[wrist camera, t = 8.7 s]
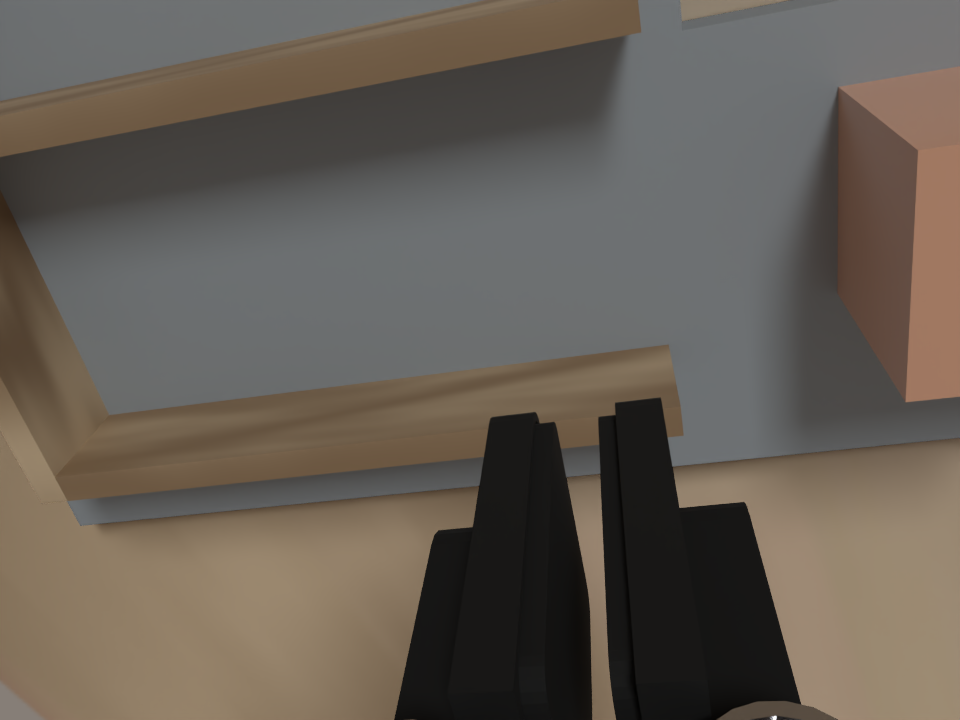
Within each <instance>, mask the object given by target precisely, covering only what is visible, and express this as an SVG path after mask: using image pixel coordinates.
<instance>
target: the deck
mask: <svg viewBox="0 0 960 720" xmlns="http://www.w3.org/2000/svg"><path fill="white" fill-rule="evenodd" d="M478 1H483V0H0V101H3V100H8V99H12V98H17V97H22V96H27V95H32V94H36V93H41V92H46V91H51V90H56V89H60V88H65V87H70V86H75V85H80V84H84V83H89V82H94V81H99V80H104V79H108V78H113V77H118V76H123V75H128V74H132V73H137V72H142V71H147V70H152V69H156V68H161V67H166V66H171V65H176V64H180V63H185V62H190V61H195V60H200V59H205V58H209V57H214V56H219V55H224V54H229V53H233V52H238V51H243V50H248V49H253V48H257V47H262V46H267V45H272V44H277V43H281V42H286V41H291V40H296V39H301V38H305V37H310V36H315V35H320V34H325V33H329V32H334V31H339V30H344V29H349V28H353V27H358V26H363V25H368V24H373V23H377V22H382V21H387V20H392V19H397V18H401V17H406V16H411V15H416V14H421V13H426V12H430V11H435V10H440V9H445V8H450V7H454V6H459V5H464V4H469V3H474V2H478ZM638 5H639V14H640V24H641V33H636V34H631V35H626V36H621V37H616V38H611V39H606V40H600V41H595V42H590V43H585V44H580V45H575V46H569V47H564V48H559V49H554V50H549V51H544V52H539V53H533V54H528V55H523V56H518V57H513V58H508V59H503V60H497V61H492V62H487V63H482V64H477V65H472V66H466V67H461V68H456V69H451V70H446V71H441V72H436V73H430V74H425V75H420V76H415V77H410V78H405V79H400V80H394V81H389V82H384V83H379V84H374V85H369V86H363V87H358V88H353V89H348V90H343V91H338V92H333V93H327V94H322V95H317V96H312V97H307V98H302V99H296V100H291V101H286V102H281V103H276V104H271V105H266V106H260V107H255V108H250V109H245V110H240V111H235V112H230V113H224V114H219V115H214V116H209V117H204V118H199V119H193V120H188V121H183V122H178V123H173V124H168V125H163V126H157V127H152V128H147V129H142V130H137V131H132V132H127V133H121V134H116V135H111V136H106V137H101V138H96V139H90V140H85V141H80V142H75V143H70V144H65V145H60V146H54V147H49V148H44V149H39V150H34V151H29V152H23V153H18V154H13V155H8V156H3V157H0V190H1V192H2V194H3V196H4V198H5V201H6V203H7V205H8V207H9V209H10V211H11V213H12V215H13V217H14V219H15V221H16V223H17V225H18V227H19V229H20V232H21V234H22V236H23V238H24V240H25V242H26V244H27V246H28V248H29V250H30V252H31V254H32V256H33V258H34V260H35V263H36V265H37V267H38V269H39V271H40V273H41V275H42V277H43V279H44V281H45V283H46V285H47V287H48V289H49V291H50V294H51V296H52V298H53V300H54V302H55V304H56V306H57V308H58V310H59V312H60V314H61V316H62V318H63V320H64V322H65V325H66V327H67V329H68V331H69V333H70V335H71V337H72V339H73V341H74V343H75V345H76V347H77V349H78V351H79V353H80V356H81V358H82V360H83V362H84V364H85V366H86V368H87V370H88V372H89V374H90V376H91V378H92V380H93V382H94V384H95V387H96V389H97V391H98V393H99V395H100V397H101V399H102V401H103V403H104V405H105V407H106V409H107V411H108V413H109V415H114V414H122V413H130V412H138V411H146V410H154V409H162V408H169V407H177V406H185V405H193V404H201V403H209V402H217V401H225V400H233V399H241V398H249V397H257V396H265V395H272V394H280V393H288V392H296V391H304V390H312V389H320V388H328V387H336V386H344V385H352V384H360V383H368V382H376V381H383V380H391V379H399V378H407V377H415V376H423V375H431V374H439V373H447V372H455V371H463V370H471V369H479V368H487V367H494V366H502V365H510V364H518V363H526V362H534V361H542V360H550V359H558V358H566V357H574V356H582V355H590V354H598V353H605V352H613V351H621V350H629V349H637V348H645V347H653V346H661V345H669V349H670V354H671V359H672V364H673V370H674V375H675V380H676V385H677V390H678V395H679V400H680V406H681V414H682V423H683V433H684V436H676V437H668V443H669V449H670V455H671V461H672V467H673V466H683V465H693V464H703V463H713V462H723V461H733V460H743V459H753V458H763V457H773V456H783V455H793V454H803V453H813V452H823V451H833V450H843V449H853V448H863V447H873V446H883V445H893V444H903V443H913V442H923V441H933V440H943V439H953V438H960V397H952V398H942V399H932V400H923V401H913V402H905V401H904V399H903V397H902V396H901V394H900V393H899V391H898V389H897V388H896V386H895V385H894V383H893V381H892V380H891V378H890V377H889V375H888V373H887V372H886V370H885V369H884V367H883V365H882V364H881V362H880V361H879V359H878V357H877V356H876V354H875V353H874V351H873V349H872V348H871V346H870V345H869V343H868V342H867V340H866V338H865V337H864V335H863V334H862V332H861V330H860V329H859V327H858V326H857V324H856V322H855V321H854V319H853V318H852V316H851V314H850V313H849V311H848V310H847V308H846V306H845V305H844V303H843V302H842V300H841V298H840V297H839V295H838V294H837V273H838V87H841V86H847V85H853V84H859V83H864V82H870V81H876V80H882V79H888V78H894V77H900V76H906V75H912V74H917V73H923V72H929V71H935V70H941V69H947V68H953V67H959V66H960V0H790V1H785V2H780V3H775V4H770V5H765V6H759V7H754V8H749V9H744V10H739V11H734V12H729V13H723V14H718V15H713V16H708V17H703V18H698V19H693V20H688V21H682V19H681V7H680V0H638ZM561 452H562V457H563V463H564V468H565V473H566V477H573V476H583V475H593V474H600V452H599V445H592V446H582V447H573V448H563V449H561ZM483 459H484V457H479V458H469V459H460V460H450V461H441V462H432V463H422V464H413V465H403V466H394V467H385V468H375V469H366V470H356V471H347V472H338V473H328V474H319V475H309V476H300V477H290V478H281V479H272V480H262V481H253V482H243V483H234V484H225V485H215V486H206V487H196V488H187V489H178V490H168V491H159V492H149V493H140V494H131V495H121V496H112V497H102V498H93V499H83V500H74V501H67V502H68V504H69V506H70V508H71V509H72V511H73V513H74V515H75V517H76V519H77V520H78V522H79V524H80V526H82V525H92V524H102V523H112V522H122V521H132V520H142V519H152V518H162V517H172V516H182V515H192V514H202V513H212V512H222V511H232V510H242V509H252V508H262V507H272V506H282V505H292V504H302V503H312V502H322V501H332V500H342V499H352V498H362V497H372V496H382V495H392V494H403V493H413V492H423V491H433V490H443V489H453V488H463V487H473V486H479V485H480V479H481V472H482V466H483Z"/></svg>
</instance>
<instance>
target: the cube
mask: <svg viewBox="0 0 960 720" xmlns="http://www.w3.org/2000/svg"><path fill="white" fill-rule="evenodd" d="M837 294H838V295H839V297H840V298H841V300H842V302H843V303H844V305H845V306H846V308H847V310H848V311H849V313H850V314H851V316H852V318H853V319H854V321H855V322H856V324H857V326H858V327H859V329H860V330H861V332H862V334H863V335H864V337H865V338H866V340H867V342H868V343H869V345H870V346H871V348H872V349H873V351H874V353H875V354H876V356H877V357H878V359H879V361H880V362H881V364H882V365H883V367H884V369H885V370H886V372H887V373H888V375H889V377H890V378H891V380H892V381H893V383H894V385H895V386H896V388H897V389H898V391H899V393H900V394H901V396H902V397H903V399H904V401H905V402H913V401H923V400H932V399H942V398H952V397H960V66H959V67H953V68H947V69H941V70H935V71H929V72H923V73H917V74H912V75H906V76H900V77H894V78H888V79H882V80H876V81H870V82H864V83H859V84H853V85H847V86H841V87H838V273H837Z"/></svg>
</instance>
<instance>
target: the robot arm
mask: <svg viewBox="0 0 960 720" xmlns="http://www.w3.org/2000/svg"><path fill="white" fill-rule="evenodd" d="M615 414H616V415H609V416H601V417H598V429H599V452H600V475H601V498H602V521H603V544H604V567H605V590H606V613H607V636H608V657H609V670H610V680H611V689H612V696H613V703H614V709H615V715H616V720H838V719H836V718H834V717H832V716H830V715H828V714H826V713H824V712H822V711H820V710H818V709H816V708H814V707H809V706H805V705H801V702H800V698H799V695H798V691H797V687H796V684H795V680H794V676H793V673H792V669H791V665H790V662H789V658H788V654H787V651H786V647H785V643H784V640H783V636H782V632H781V629H780V625H779V621H778V618H777V614H776V610H775V607H774V603H773V599H772V596H771V592H770V588H769V585H768V581H767V577H766V574H765V570H764V566H763V563H762V559H761V555H760V552H759V548H758V544H757V541H756V537H755V533H754V530H753V526H752V522H751V518H750V515H749V512H748V509H747V506H746V504H745V503H744V502H740V503H729V504H719V505H708V506H697V507H686V508H679V503H678V497H677V491H676V485H675V479H674V473H673V467H672V461H671V455H670V449H669V443H668V437H667V431H666V425H665V419H664V413H663V406H662V401H661V397H659V398H650V399H642V400H633V401H625V402H616V403H615ZM394 720H592V683H591V636H590V607H589V597H588V589H587V583H586V578H585V573H584V567H583V562H582V557H581V552H580V547H579V541H578V536H577V531H576V526H575V520H574V515H573V510H572V505H571V499H570V494H569V489H568V484H567V478H566V473H565V468H564V463H563V457H562V452H561V447H560V442H559V436H558V431H557V427H556V424H555V422H548V423H540V422H539V418H538V415H537V413H536V412H530V413H522V414H513V415H505V416H496V417H491V418H490V421H489V427H488V433H487V440H486V446H485V453H484V459H483V466H482V472H481V479H480V485H479V492H478V498H477V504H476V511H475V517H474V524H473V527H471V528H460V529H450V530H439V531H438V532H437V533H436V534H435V535H434V538H433V541H432V545H431V549H430V554H429V559H428V564H427V568H426V573H425V578H424V582H423V587H422V592H421V597H420V601H419V606H418V611H417V615H416V620H415V625H414V630H413V634H412V639H411V644H410V648H409V653H408V658H407V663H406V667H405V672H404V677H403V681H402V686H401V691H400V696H399V700H398V705H397V710H396V714H395V719H394Z"/></svg>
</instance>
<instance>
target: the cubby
mask: <svg viewBox="0 0 960 720" xmlns="http://www.w3.org/2000/svg"><path fill="white" fill-rule="evenodd" d="M636 33H641V24H640V14H639V5H638V0H483V1H478V2H474V3H469V4H464V5H459V6H454V7H450V8H445V9H440V10H435V11H430V12H426V13H421V14H416V15H411V16H406V17H401V18H397V19H392V20H387V21H382V22H377V23H373V24H368V25H363V26H358V27H353V28H349V29H344V30H339V31H334V32H329V33H325V34H320V35H315V36H310V37H305V38H301V39H296V40H291V41H286V42H281V43H277V44H272V45H267V46H262V47H257V48H253V49H248V50H243V51H238V52H233V53H229V54H224V55H219V56H214V57H209V58H205V59H200V60H195V61H190V62H185V63H180V64H176V65H171V66H166V67H161V68H156V69H152V70H147V71H142V72H137V73H132V74H128V75H123V76H118V77H113V78H108V79H104V80H99V81H94V82H89V83H84V84H80V85H75V86H70V87H65V88H60V89H56V90H51V91H46V92H41V93H36V94H32V95H27V96H22V97H17V98H12V99H8V100H3V101H0V157H3V156H8V155H13V154H18V153H23V152H29V151H34V150H39V149H44V148H49V147H54V146H60V145H65V144H70V143H75V142H80V141H85V140H90V139H96V138H101V137H106V136H111V135H116V134H121V133H127V132H132V131H137V130H142V129H147V128H152V127H157V126H163V125H168V124H173V123H178V122H183V121H188V120H193V119H199V118H204V117H209V116H214V115H219V114H224V113H230V112H235V111H240V110H245V109H250V108H255V107H260V106H266V105H271V104H276V103H281V102H286V101H291V100H296V99H302V98H307V97H312V96H317V95H322V94H327V93H333V92H338V91H343V90H348V89H353V88H358V87H363V86H369V85H374V84H379V83H384V82H389V81H394V80H400V79H405V78H410V77H415V76H420V75H425V74H430V73H436V72H441V71H446V70H451V69H456V68H461V67H466V66H472V65H477V64H482V63H487V62H492V61H497V60H503V59H508V58H513V57H518V56H523V55H528V54H533V53H539V52H544V51H549V50H554V49H559V48H564V47H569V46H575V45H580V44H585V43H590V42H595V41H600V40H606V39H611V38H616V37H621V36H626V35H631V34H636ZM659 397H661V401H662V406H663V413H664V419H665V425H666V431H667V437H676V436H684V433H683V423H682V414H681V406H680V400H679V395H678V390H677V385H676V380H675V375H674V370H673V364H672V359H671V354H670V349H669V345H661V346H653V347H645V348H637V349H629V350H621V351H613V352H605V353H598V354H590V355H582V356H574V357H566V358H558V359H550V360H542V361H534V362H526V363H518V364H510V365H502V366H494V367H487V368H479V369H471V370H463V371H455V372H447V373H439V374H431V375H423V376H415V377H407V378H399V379H391V380H383V381H376V382H368V383H360V384H352V385H344V386H336V387H328V388H320V389H312V390H304V391H296V392H288V393H280V394H272V395H265V396H257V397H249V398H241V399H233V400H225V401H217V402H209V403H201V404H193V405H185V406H177V407H169V408H162V409H154V410H146V411H138V412H130V413H122V414H114V415H109V413H108V411H107V409H106V407H105V405H104V403H103V401H102V399H101V397H100V395H99V393H98V391H97V389H96V387H95V384H94V382H93V380H92V378H91V376H90V374H89V372H88V370H87V368H86V366H85V364H84V362H83V360H82V358H81V356H80V353H79V351H78V349H77V347H76V345H75V343H74V341H73V339H72V337H71V335H70V333H69V331H68V329H67V327H66V325H65V322H64V320H63V318H62V316H61V314H60V312H59V310H58V308H57V306H56V304H55V302H54V300H53V298H52V296H51V294H50V291H49V289H48V287H47V285H46V283H45V281H44V279H43V277H42V275H41V273H40V271H39V269H38V267H37V265H36V263H35V260H34V258H33V256H32V254H31V252H30V250H29V248H28V246H27V244H26V242H25V240H24V238H23V236H22V234H21V232H20V229H19V227H18V225H17V223H16V221H15V219H14V217H13V215H12V213H11V211H10V209H9V207H8V205H7V203H6V201H5V198H4V196H3V194H2V192H1V190H0V431H1V433H2V435H3V437H4V438H5V440H6V442H7V444H8V445H9V447H10V449H11V451H12V453H13V454H14V456H15V458H16V460H17V461H18V463H19V465H20V467H21V469H22V470H23V472H24V474H25V476H26V477H27V479H28V481H29V483H30V485H31V486H32V488H33V490H34V492H35V493H36V495H37V497H38V499H39V501H40V502H41V504H46V503H55V502H65V501H74V500H83V499H93V498H102V497H112V496H121V495H131V494H140V493H149V492H159V491H168V490H178V489H187V488H196V487H206V486H215V485H225V484H234V483H243V482H253V481H262V480H272V479H281V478H290V477H300V476H309V475H319V474H328V473H338V472H347V471H356V470H366V469H375V468H385V467H394V466H403V465H413V464H422V463H432V462H441V461H450V460H460V459H469V458H479V457H484V453H485V446H486V440H487V433H488V427H489V421H490V418H491V417H496V416H505V415H513V414H522V413H530V412H536V413H537V415H538V418H539V422H540V423H548V422H555V424H556V427H557V431H558V436H559V442H560V447H561V449H563V448H573V447H582V446H592V445H599V429H598V417H601V416H609V415H616V414H615V403H616V402H625V401H633V400H642V399H650V398H659Z"/></svg>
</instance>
